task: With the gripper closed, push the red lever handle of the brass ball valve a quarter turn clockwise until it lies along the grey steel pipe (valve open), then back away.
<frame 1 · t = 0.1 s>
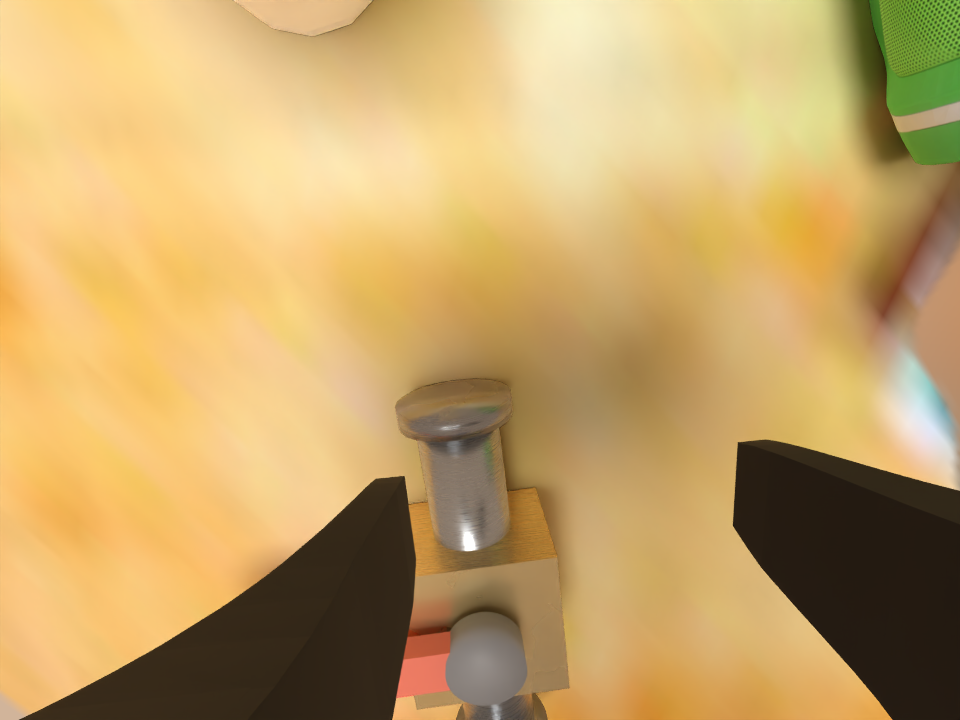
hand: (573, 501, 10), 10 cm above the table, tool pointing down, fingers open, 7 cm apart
valve body: (478, 552, 22), on the table
lever: (350, 676, 16), point 6 cm above the table, hinge at 90.0°
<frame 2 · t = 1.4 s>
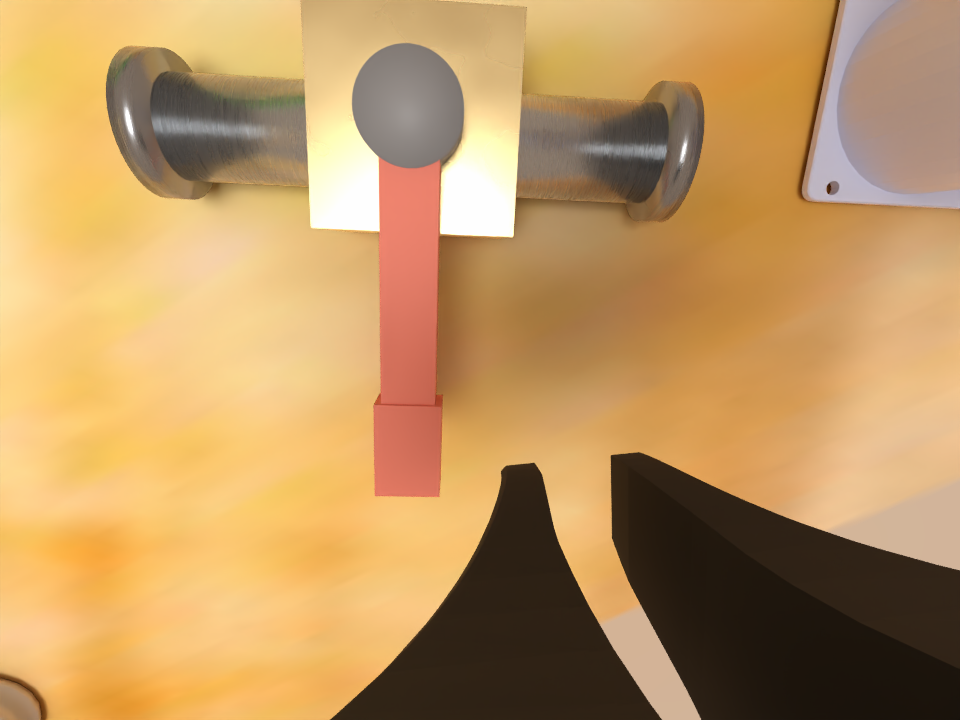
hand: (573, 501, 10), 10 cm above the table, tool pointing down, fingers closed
rook chess piece: (5, 703, 23), on the table
valve body: (425, 154, 17), on the table
lever: (409, 296, 13), point 6 cm above the table, hinge at 90.0°
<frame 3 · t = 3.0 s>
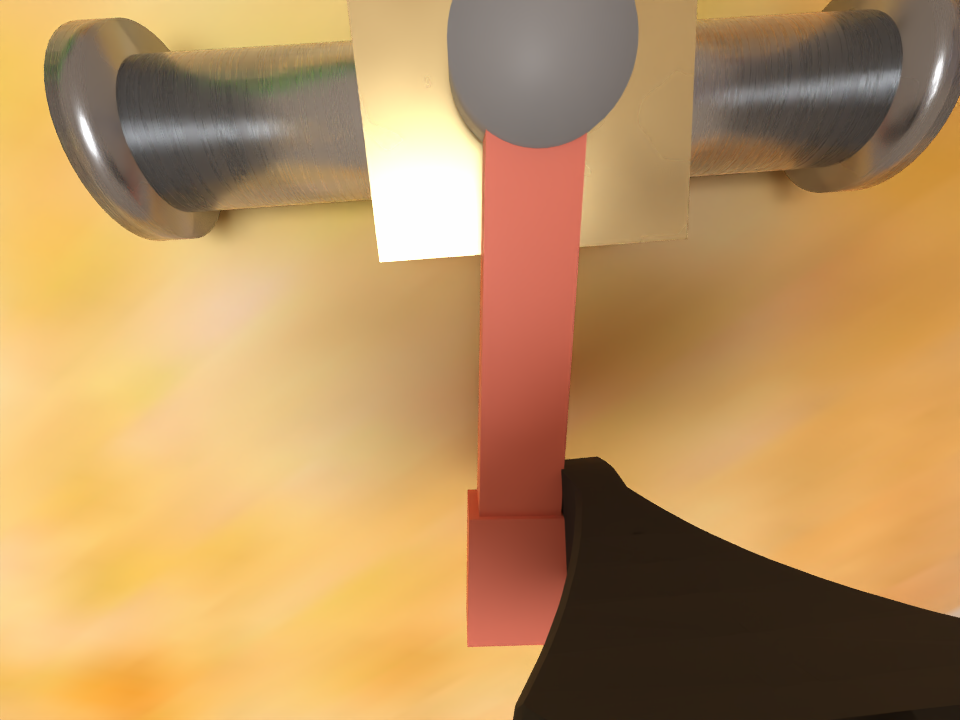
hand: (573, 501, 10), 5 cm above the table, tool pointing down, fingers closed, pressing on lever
valve body: (502, 136, 13), on the table
lever: (524, 351, 8), point 6 cm above the table, hinge at 84.9°, touching gripper
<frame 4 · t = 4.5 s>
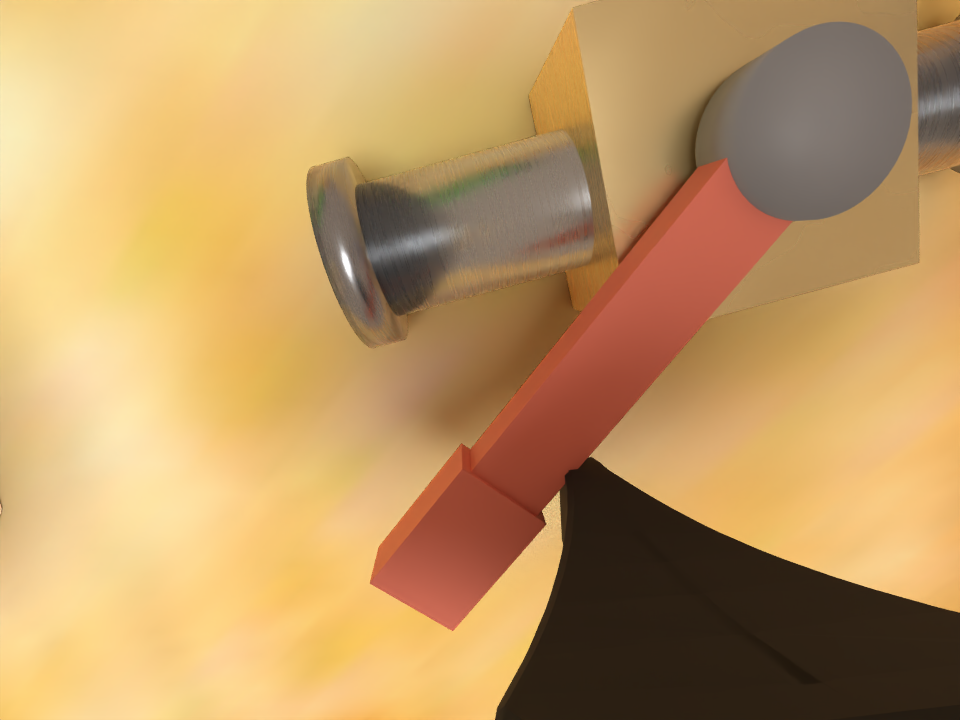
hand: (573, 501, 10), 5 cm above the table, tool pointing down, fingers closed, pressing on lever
valve body: (652, 180, 13), on the table
lever: (608, 357, 8), point 6 cm above the table, hinge at 37.9°, touching gripper
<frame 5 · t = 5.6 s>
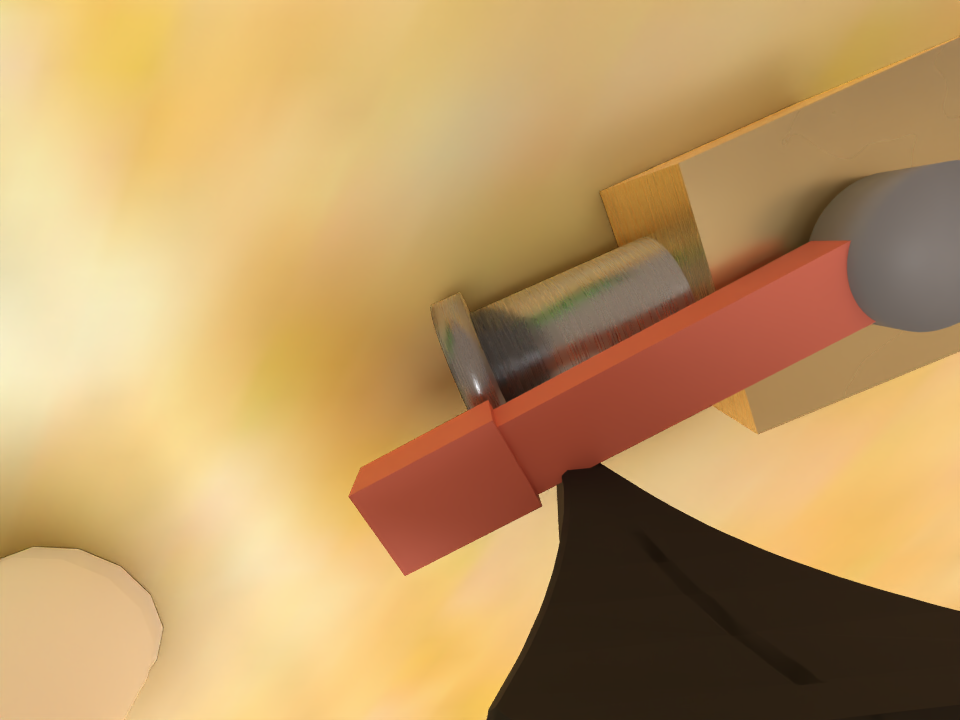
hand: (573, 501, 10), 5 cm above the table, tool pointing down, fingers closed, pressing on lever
valve body: (725, 247, 14), on the table
lever: (664, 374, 9), point 6 cm above the table, hinge at 5.0°, touching gripper
foam cup: (72, 620, 16), on the table
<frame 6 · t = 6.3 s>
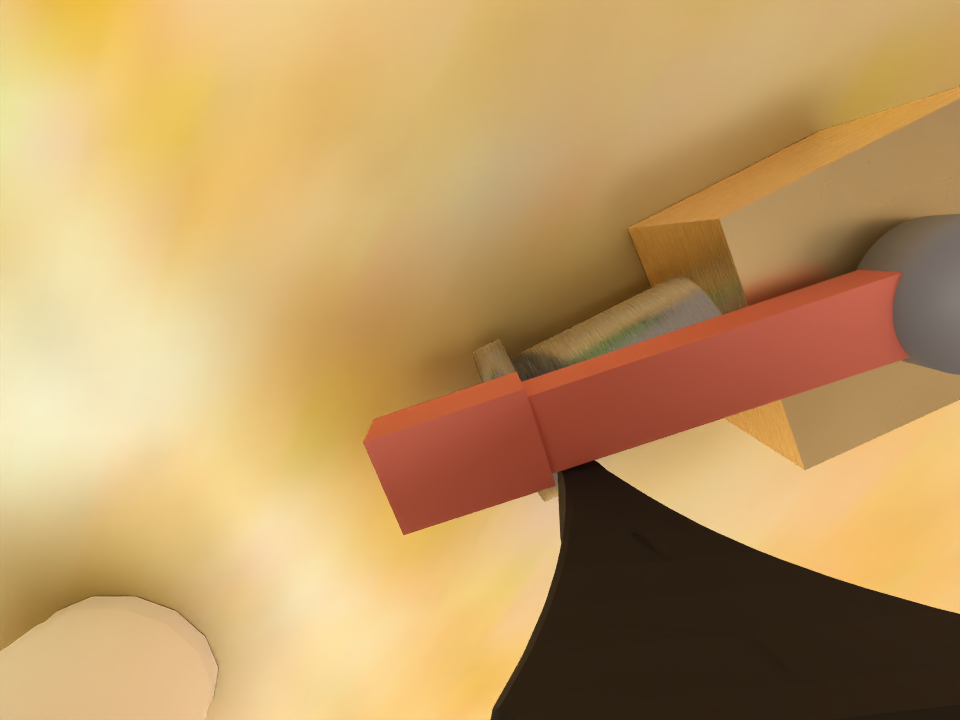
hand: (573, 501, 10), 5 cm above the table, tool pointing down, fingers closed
valve body: (753, 274, 14), on the table
lever: (698, 375, 9), point 6 cm above the table, hinge at -8.2°, touching gripper
foam cup: (130, 664, 16), on the table
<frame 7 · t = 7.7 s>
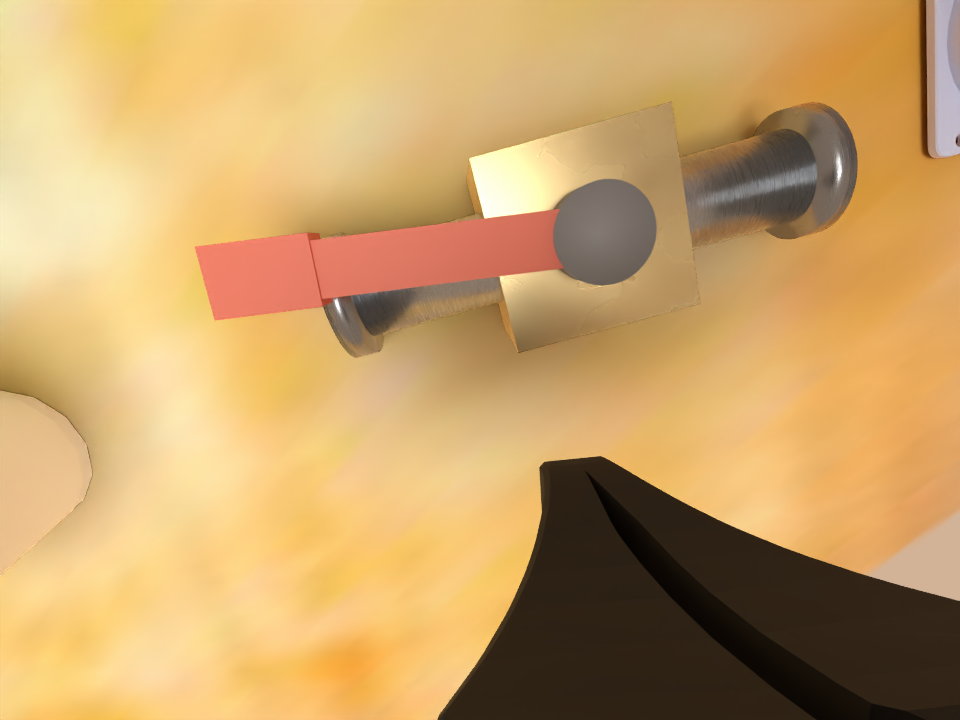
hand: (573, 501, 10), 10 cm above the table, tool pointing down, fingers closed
valve body: (557, 237, 18), on the table
lever: (432, 255, 13), point 6 cm above the table, hinge at -8.0°
foam cup: (19, 457, 20), on the table
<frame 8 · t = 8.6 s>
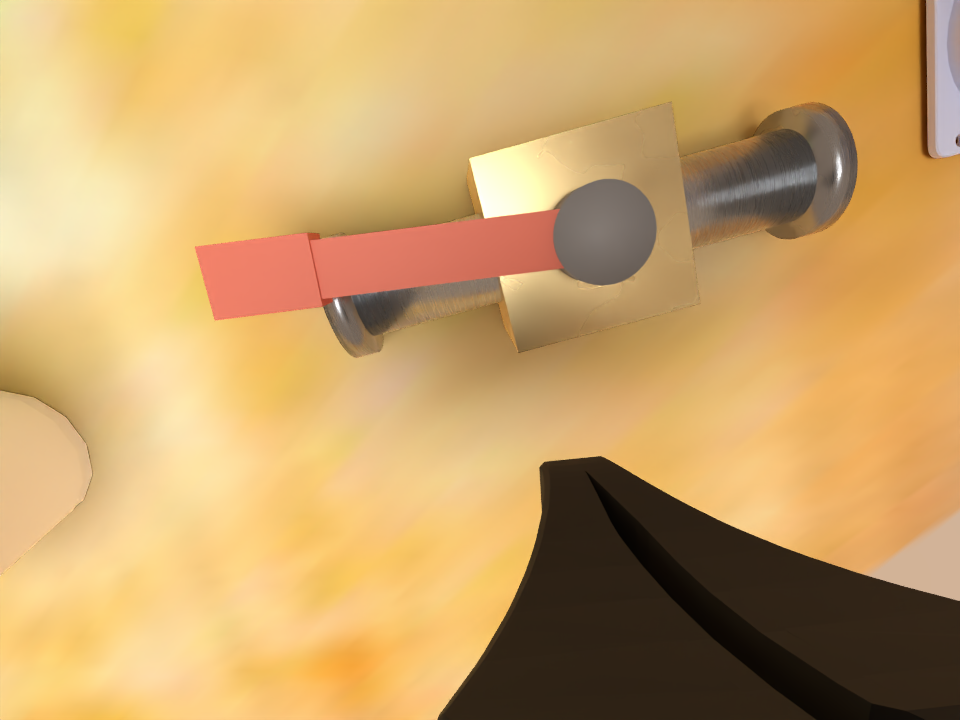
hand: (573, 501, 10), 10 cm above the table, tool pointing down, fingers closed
valve body: (557, 237, 18), on the table
lever: (432, 255, 13), point 6 cm above the table, hinge at -8.0°
foam cup: (19, 457, 20), on the table
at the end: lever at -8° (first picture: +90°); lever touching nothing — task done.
